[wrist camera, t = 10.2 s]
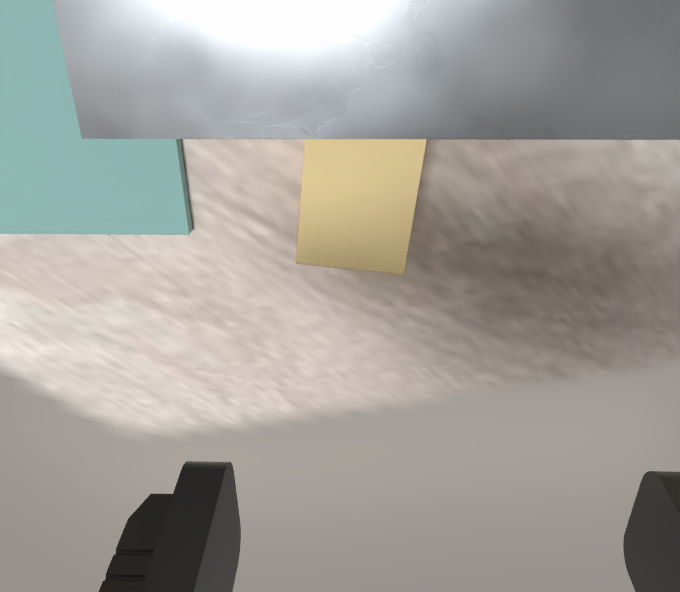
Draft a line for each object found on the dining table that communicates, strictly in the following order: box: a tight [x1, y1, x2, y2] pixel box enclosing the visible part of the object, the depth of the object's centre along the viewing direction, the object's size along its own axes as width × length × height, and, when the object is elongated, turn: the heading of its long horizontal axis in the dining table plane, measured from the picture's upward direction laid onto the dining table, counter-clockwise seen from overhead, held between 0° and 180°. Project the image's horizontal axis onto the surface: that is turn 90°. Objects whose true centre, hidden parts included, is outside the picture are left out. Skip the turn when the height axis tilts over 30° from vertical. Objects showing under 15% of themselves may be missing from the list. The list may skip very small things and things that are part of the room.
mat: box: [0, 0, 193, 235], centre depth 22 cm, size 8×15×1 cm, turn 1°
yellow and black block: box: [296, 139, 427, 275], centre depth 19 cm, size 5×13×6 cm, turn 174°
